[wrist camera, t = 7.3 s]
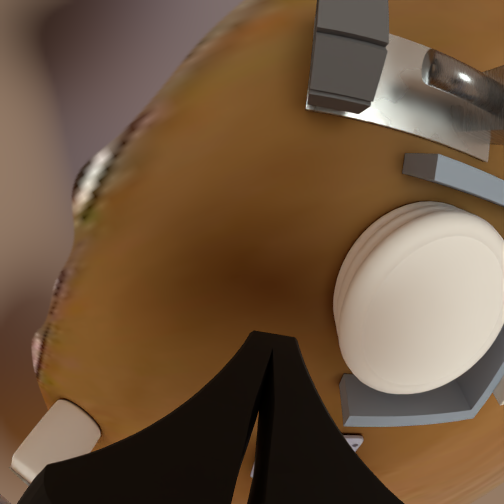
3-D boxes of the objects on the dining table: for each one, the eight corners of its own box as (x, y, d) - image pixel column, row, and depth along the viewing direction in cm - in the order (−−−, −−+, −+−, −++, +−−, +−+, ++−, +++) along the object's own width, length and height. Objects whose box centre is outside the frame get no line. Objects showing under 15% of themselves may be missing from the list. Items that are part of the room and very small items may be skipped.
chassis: (492, 383, 15) (514, 421, 10) (339, 384, 16) (345, 444, 12) (560, 218, 10) (603, 239, 5) (405, 153, 11) (455, 154, 7)
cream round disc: (318, 357, 16) (320, 400, 13) (346, 186, 13) (363, 196, 9) (454, 357, 15) (473, 391, 11) (500, 214, 11) (537, 230, 8)
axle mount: (483, 161, 11) (567, 176, 5) (305, 110, 12) (313, 68, 6) (486, 79, 9) (561, 59, 3) (314, 20, 10) (322, -59, 4)
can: (54, 406, 25) (6, 466, 13) (62, 390, 22) (4, 462, 11) (94, 439, 25) (53, 504, 14) (109, 429, 23) (60, 507, 12)
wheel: (350, 119, 11) (386, 96, 6) (305, 111, 11) (312, 79, 6) (357, 21, 9) (384, -39, 4) (315, 13, 9) (321, -52, 4)
